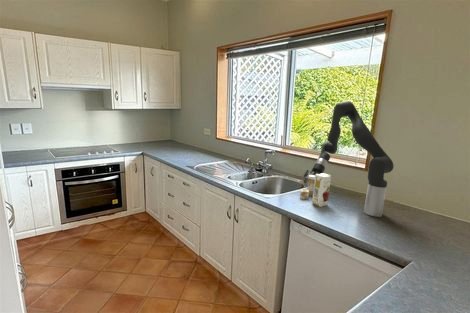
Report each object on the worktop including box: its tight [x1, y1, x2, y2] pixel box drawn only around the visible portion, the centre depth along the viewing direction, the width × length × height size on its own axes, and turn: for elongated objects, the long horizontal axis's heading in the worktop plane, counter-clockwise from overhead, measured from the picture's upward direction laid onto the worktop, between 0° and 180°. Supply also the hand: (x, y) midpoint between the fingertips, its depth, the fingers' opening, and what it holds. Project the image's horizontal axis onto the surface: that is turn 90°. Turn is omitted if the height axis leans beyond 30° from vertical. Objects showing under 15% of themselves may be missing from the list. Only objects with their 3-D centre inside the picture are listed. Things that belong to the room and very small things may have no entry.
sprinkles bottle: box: [306, 174, 315, 197], centre depth 176 cm, size 5×5×14 cm
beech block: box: [299, 188, 309, 200], centre depth 171 cm, size 5×5×5 cm
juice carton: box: [311, 172, 332, 208], centre depth 160 cm, size 8×9×19 cm
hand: (310, 185), depth 176 cm, fingers open, 8 cm apart
